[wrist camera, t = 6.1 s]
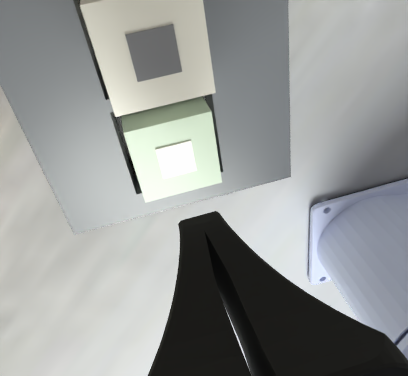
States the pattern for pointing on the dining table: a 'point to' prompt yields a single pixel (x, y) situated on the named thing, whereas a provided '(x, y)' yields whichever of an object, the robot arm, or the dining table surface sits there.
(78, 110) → the keypad
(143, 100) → the key ivory
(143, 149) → the key sage
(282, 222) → the dining table surface
